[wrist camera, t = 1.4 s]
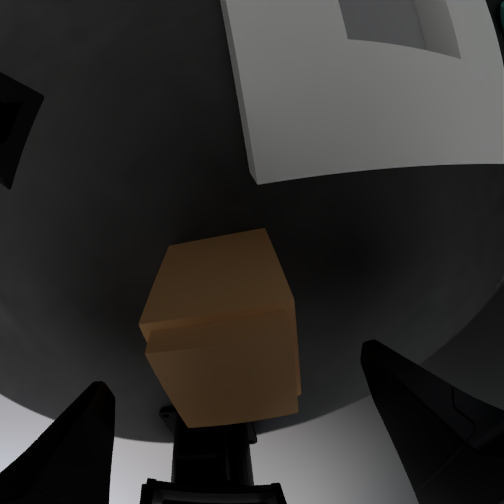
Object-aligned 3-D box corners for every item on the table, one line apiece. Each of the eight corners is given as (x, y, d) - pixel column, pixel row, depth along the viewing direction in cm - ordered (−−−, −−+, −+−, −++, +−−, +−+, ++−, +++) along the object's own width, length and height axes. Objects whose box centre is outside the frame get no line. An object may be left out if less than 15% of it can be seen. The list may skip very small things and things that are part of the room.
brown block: (276, 307, 15) (307, 414, 9) (193, 321, 15) (183, 431, 9) (264, 227, 13) (302, 320, 7) (169, 245, 13) (130, 346, 7)
